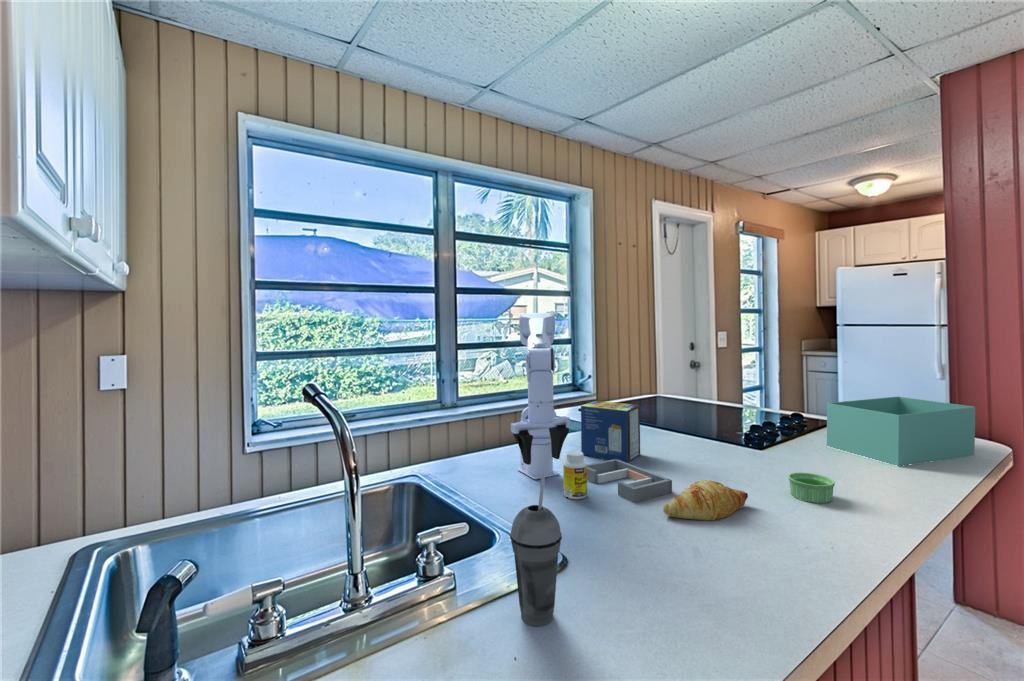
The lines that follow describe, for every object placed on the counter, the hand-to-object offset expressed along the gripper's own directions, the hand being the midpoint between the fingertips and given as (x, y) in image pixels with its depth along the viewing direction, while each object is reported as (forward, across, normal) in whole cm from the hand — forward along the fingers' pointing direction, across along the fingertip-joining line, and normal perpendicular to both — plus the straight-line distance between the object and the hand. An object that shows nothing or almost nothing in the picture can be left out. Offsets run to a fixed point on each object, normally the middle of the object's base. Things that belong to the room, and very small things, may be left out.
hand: (541, 460), depth 104 cm
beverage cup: (+10, -22, -34) cm, 41 cm away
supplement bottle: (+10, +9, 0) cm, 14 cm away
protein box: (+10, +38, +22) cm, 45 cm away
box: (+10, +115, -21) cm, 117 cm away
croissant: (+10, +28, -21) cm, 37 cm away
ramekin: (+10, +55, -28) cm, 63 cm away
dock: (+10, +24, 0) cm, 26 cm away
